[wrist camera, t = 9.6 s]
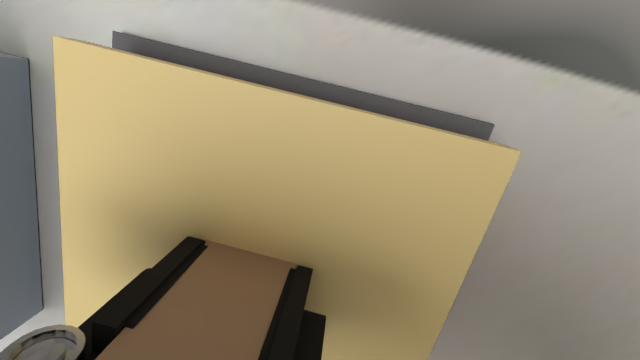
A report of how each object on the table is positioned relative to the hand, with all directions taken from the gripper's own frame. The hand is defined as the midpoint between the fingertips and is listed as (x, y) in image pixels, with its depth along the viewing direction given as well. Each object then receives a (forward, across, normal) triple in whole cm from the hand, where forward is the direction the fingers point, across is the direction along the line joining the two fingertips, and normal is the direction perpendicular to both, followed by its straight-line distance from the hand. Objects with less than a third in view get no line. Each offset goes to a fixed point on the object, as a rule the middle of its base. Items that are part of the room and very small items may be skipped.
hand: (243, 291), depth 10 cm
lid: (+1, 0, 0) cm, 1 cm away
